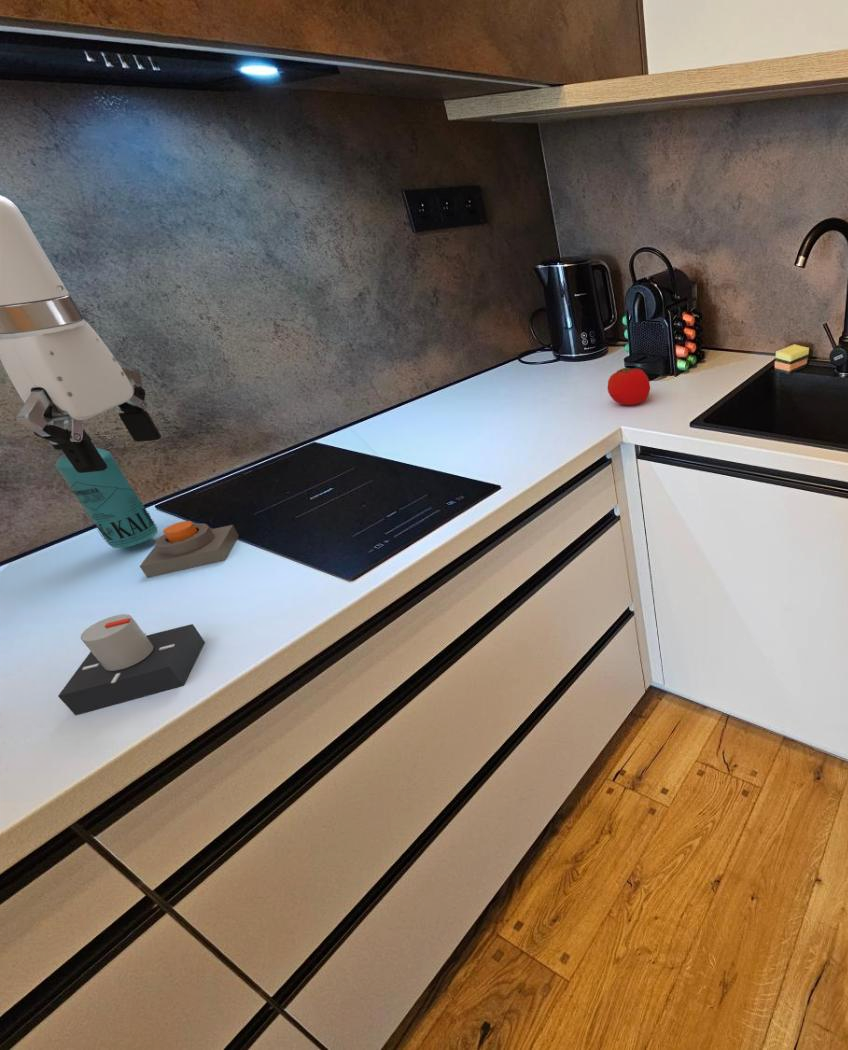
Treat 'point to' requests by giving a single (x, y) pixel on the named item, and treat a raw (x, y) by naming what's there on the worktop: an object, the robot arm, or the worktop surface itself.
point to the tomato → (629, 386)
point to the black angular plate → (135, 672)
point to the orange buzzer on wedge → (190, 550)
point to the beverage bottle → (109, 501)
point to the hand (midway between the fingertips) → (122, 454)
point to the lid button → (180, 531)
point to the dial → (117, 642)
